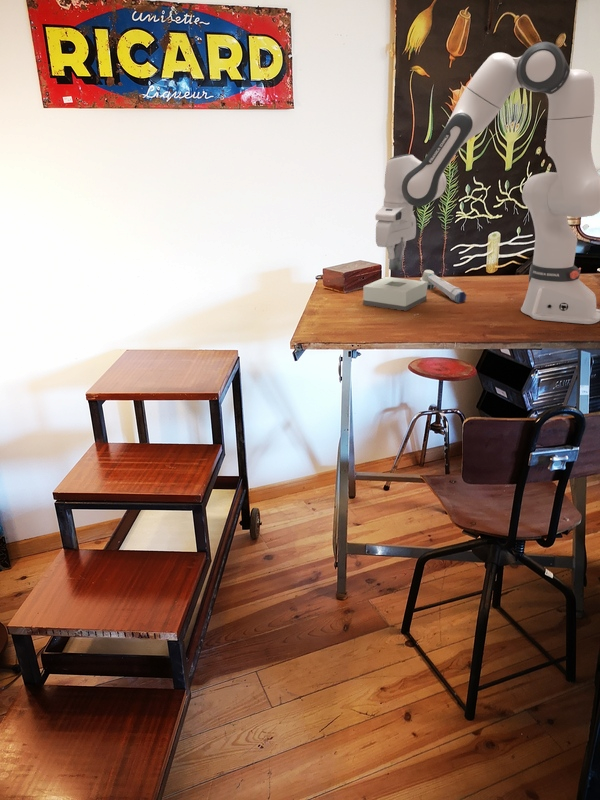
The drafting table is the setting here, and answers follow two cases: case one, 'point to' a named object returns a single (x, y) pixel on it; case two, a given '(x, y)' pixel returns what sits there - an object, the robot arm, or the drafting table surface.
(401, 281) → the socket block
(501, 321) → the drafting table surface
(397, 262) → the dark grey upright bar
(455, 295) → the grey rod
